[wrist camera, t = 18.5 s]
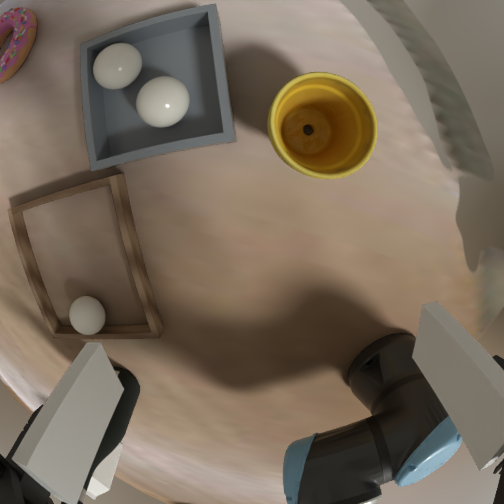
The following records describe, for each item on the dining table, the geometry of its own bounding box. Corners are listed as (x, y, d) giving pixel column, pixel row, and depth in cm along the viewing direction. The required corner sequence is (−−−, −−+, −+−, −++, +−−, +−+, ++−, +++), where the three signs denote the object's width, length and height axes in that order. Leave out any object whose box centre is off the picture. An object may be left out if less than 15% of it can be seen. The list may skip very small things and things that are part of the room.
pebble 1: (116, 321, 42) (101, 343, 36) (87, 321, 42) (72, 342, 36) (103, 287, 40) (86, 307, 34) (75, 290, 40) (56, 309, 34)
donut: (-15, 94, 27) (-33, 94, 22) (-3, 29, 22) (-19, 25, 17) (35, 70, 27) (15, 66, 23) (50, 0, 22) (34, -9, 18)
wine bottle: (97, 375, 46) (38, 499, 18) (114, 358, 45) (48, 499, 16) (129, 398, 48) (86, 524, 20) (149, 383, 47) (105, 527, 18)
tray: (163, 328, 42) (159, 337, 40) (59, 330, 43) (53, 338, 40) (123, 173, 34) (115, 175, 31) (16, 206, 35) (7, 209, 32)
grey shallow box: (236, 141, 33) (234, 140, 28) (109, 167, 33) (91, 171, 29) (219, 20, 27) (215, 3, 22) (98, 53, 28) (80, 44, 23)
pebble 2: (113, 98, 25) (77, 69, 22) (120, 99, 30) (89, 74, 27) (151, 58, 24) (115, 28, 21) (153, 65, 29) (121, 39, 26)
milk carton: (109, 430, 54) (87, 490, 36) (123, 445, 56) (106, 502, 38) (89, 427, 54) (66, 483, 36) (103, 443, 57) (84, 496, 39)
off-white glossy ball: (187, 129, 32) (198, 114, 26) (138, 137, 30) (140, 123, 24) (180, 85, 30) (191, 64, 25) (133, 92, 28) (134, 71, 23)
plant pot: (321, 78, 30) (346, 56, 21) (359, 150, 33) (395, 153, 24) (247, 112, 32) (247, 98, 22) (288, 186, 35) (303, 199, 26)
